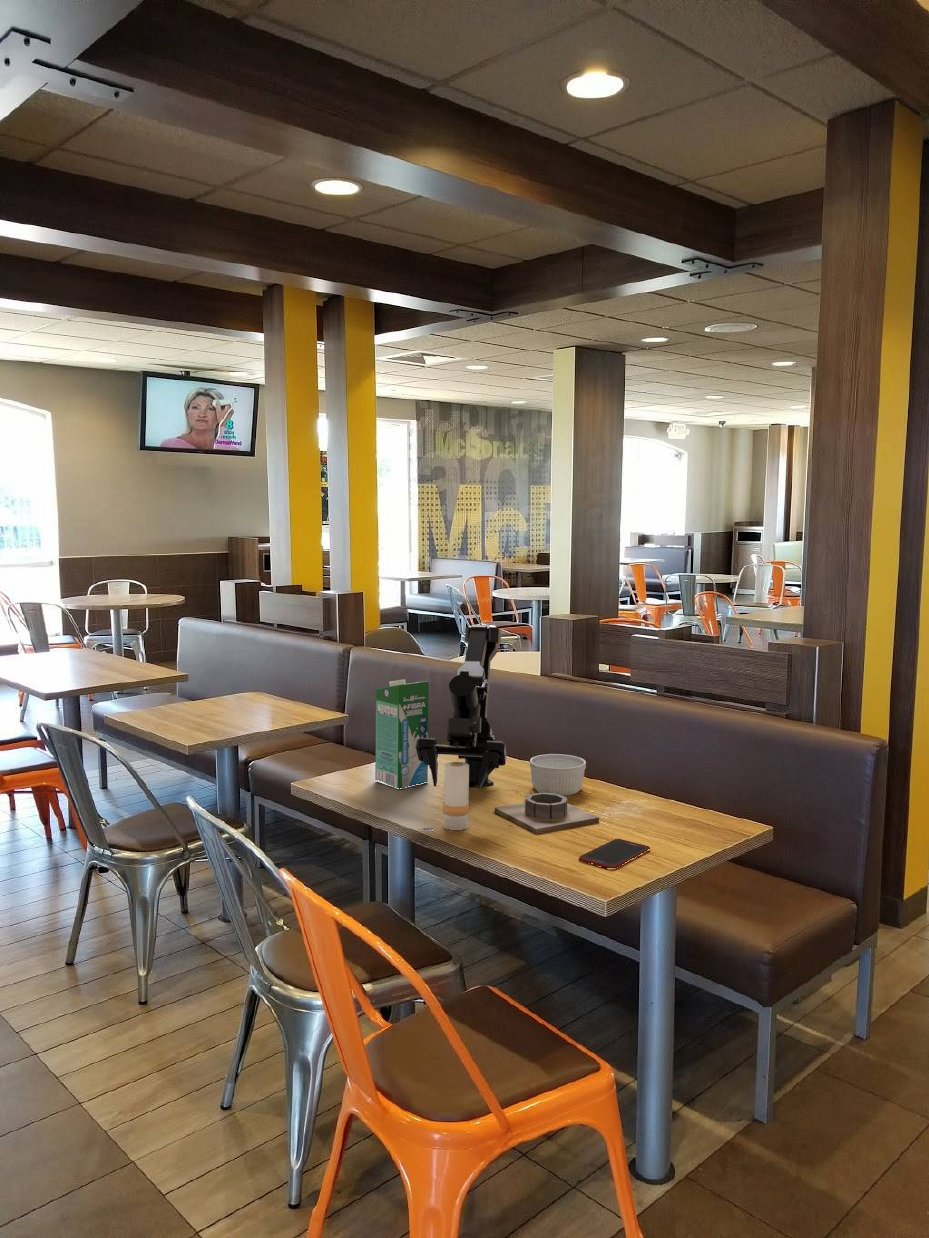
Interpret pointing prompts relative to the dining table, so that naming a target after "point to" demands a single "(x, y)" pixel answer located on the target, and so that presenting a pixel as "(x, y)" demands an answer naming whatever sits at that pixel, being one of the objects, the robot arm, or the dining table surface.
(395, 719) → the milk carton
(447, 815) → the paper roll
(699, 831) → the dining table surface
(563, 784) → the ramekin
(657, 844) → the dining table surface
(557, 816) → the roll holder stand
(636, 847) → the cell phone
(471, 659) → the robot arm
